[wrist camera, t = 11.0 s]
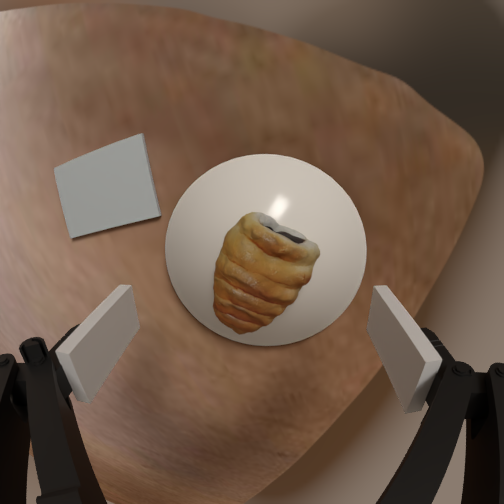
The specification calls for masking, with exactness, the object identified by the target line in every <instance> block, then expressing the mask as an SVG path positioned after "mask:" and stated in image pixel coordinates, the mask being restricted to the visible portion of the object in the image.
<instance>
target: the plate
mask: <svg viewBox="0 0 504 504" xmlns="http://www.w3.org/2000/svg"><path fill="white" fill-rule="evenodd" d="M251 212H261V213H264V214H266V215H268V216H271V217H272V218H273V219H275V220H276V222H277V223H278V224H279V225H282V226H286V227H288V228H290V229H294V230H296V231H298V232H300V233H302V234H303V235H304V236H305V237H306V238H307V239H308V240H309V241H312V242H314V243H316V244H317V245H318V248H319V249H320V257H319V258H318V259H317V260H316V262H315V264H314V267H313V271H312V277H311V279H310V281H309V282H308V283H307V284H306V285H304V286H302V288H301V290H300V291H299V293H298V296H297V299H296V300H295V302H294V303H293V304H291V305H288V306H287V307H286V309H285V310H284V312H283V313H282V314H281V315H279V316H277V317H275V318H274V319H273V321H272V323H270V324H269V325H267V326H263V327H261V328H260V329H258V330H257V331H255V332H252V333H251V332H249V333H245V334H240V335H239V334H237V333H236V332H234V331H233V330H232V329H231V328H229V327H227V326H226V325H224V324H223V323H221V322H220V321H219V319H218V318H217V317H216V315H215V312H214V309H213V302H214V290H213V286H214V272H215V263H216V260H217V258H218V256H219V254H220V250H221V248H222V246H223V242H224V238H225V235H226V234H227V232H228V231H229V230H230V229H231V228H232V227H233V226H235V225H236V223H237V222H238V221H239V220H240V218H241V217H242V216H244V215H246V214H248V213H251ZM366 249H367V247H366V238H365V232H364V228H363V224H362V221H361V219H360V216H359V214H358V211H357V209H356V207H355V206H354V204H353V202H352V201H351V199H350V197H349V196H348V195H347V194H346V192H345V191H344V190H343V189H342V187H341V186H340V185H339V184H338V183H336V182H335V181H334V180H333V179H332V178H331V177H330V176H328V175H327V174H326V173H324V172H323V171H321V170H320V169H318V168H316V167H314V166H312V165H310V164H308V163H306V162H304V161H301V160H298V159H295V158H292V157H287V156H282V155H273V154H257V155H248V156H243V157H239V158H235V159H232V160H229V161H226V162H224V163H221V164H219V165H218V166H216V167H214V168H212V169H210V170H209V171H207V172H206V173H205V174H203V175H202V176H201V177H199V178H198V179H197V180H196V181H195V182H194V183H193V184H192V185H191V186H190V187H189V188H188V189H187V190H186V192H185V193H184V194H183V196H182V197H181V198H180V200H179V202H178V203H177V205H176V207H175V209H174V211H173V213H172V216H171V219H170V221H169V225H168V229H167V234H166V243H165V256H166V264H167V269H168V273H169V277H170V280H171V283H172V285H173V287H174V289H175V291H176V293H177V295H178V297H179V298H180V300H181V301H182V303H183V304H184V306H185V307H186V308H187V309H188V311H189V312H190V313H191V314H192V315H193V316H194V317H195V318H196V319H197V320H198V321H199V322H201V323H202V324H203V325H205V326H206V327H207V328H209V329H210V330H212V331H214V332H215V333H217V334H219V335H221V336H223V337H226V338H228V339H230V340H234V341H237V342H240V343H244V344H250V345H258V346H277V345H284V344H290V343H293V342H297V341H301V340H303V339H306V338H308V337H310V336H313V335H314V334H316V333H318V332H320V331H322V330H323V329H325V328H326V327H327V326H329V325H330V324H331V323H333V322H334V321H335V320H336V319H337V318H338V317H339V316H340V315H341V314H342V313H343V312H344V311H345V309H346V308H347V307H348V306H349V304H350V303H351V301H352V300H353V298H354V296H355V295H356V292H357V290H358V288H359V286H360V284H361V281H362V277H363V274H364V270H365V264H366Z"/></svg>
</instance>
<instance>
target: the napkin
mask: <svg viewBox="0 0 504 504" xmlns="http://www.w3.org/2000/svg"><path fill="white" fill-rule="evenodd" d="M54 173H55V178H56V182H57V187H58V192H59V196H60V200H61V204H62V209H63V213H64V216H65V220H66V224H67V228H68V231H69V235H70V238H74V237H78V236H82V235H86V234H89V233H93V232H97V231H101V230H105V229H109V228H113V227H117V226H121V225H125V224H129V223H133V222H137V221H141V220H145V219H150V218H154V217H158V216H161V211H160V207H159V203H158V199H157V195H156V191H155V186H154V182H153V177H152V173H151V168H150V164H149V159H148V154H147V149H146V144H145V139H144V134H143V133H141V134H138V135H135V136H132V137H129V138H126V139H124V140H121V141H118V142H115V143H113V144H110V145H107V146H105V147H102V148H100V149H97V150H95V151H92V152H90V153H87V154H85V155H83V156H80V157H78V158H76V159H73V160H71V161H69V162H67V163H64V164H62V165H60V166H58V167H56V168H54Z"/></svg>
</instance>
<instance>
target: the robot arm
mask: <svg viewBox="0 0 504 504" xmlns="http://www.w3.org/2000/svg"><path fill="white" fill-rule="evenodd" d="M139 328H140V325H139V320H138V316H137V311H136V306H135V301H134V296H133V290H132V285H119V286H118V287H117V288H116V289H115V290H114V291H113V292H112V293H111V294H110V295H109V296H108V297H107V298H106V299H105V300H104V301H103V302H102V303H101V304H100V305H99V306H98V307H97V308H96V309H95V310H94V311H93V312H92V313H91V314H90V315H89V316H88V317H87V318H86V319H85V320H84V321H83V322H82V323H81V324H78V325H76V326H75V327H73V328H71V329H70V330H69V331H68V332H67V333H66V334H65V336H63V337H62V338H61V340H59V341H58V342H57V343H56V345H55V346H54V347H53V348H52V349H51V350H50V351H49V352H48V349H47V347H46V344H45V341H44V339H42V338H40V337H33V338H30V339H27V340H25V341H24V342H22V344H21V345H20V347H19V350H20V353H21V355H22V357H23V359H24V362H25V363H17V362H16V360H15V357H14V356H13V355H12V354H2V355H0V504H26V489H27V487H26V486H27V469H28V457H29V448H30V440H31V442H32V449H33V455H34V460H35V466H36V471H37V475H38V480H39V484H40V488H41V493H42V494H41V496H37V498H36V503H37V504H107V502H106V500H105V497H104V495H103V493H102V491H101V488H100V486H99V484H98V481H97V479H96V476H95V474H94V471H93V469H92V466H91V463H90V461H89V458H88V455H87V452H86V449H85V447H84V444H83V440H82V437H81V434H80V431H79V428H78V424H77V421H76V417H75V414H74V410H73V406H72V402H71V400H70V398H69V395H70V393H71V392H72V391H73V393H74V395H75V397H76V399H77V400H78V401H82V402H86V403H90V404H91V402H92V400H93V399H94V397H95V396H96V394H97V392H98V391H99V389H100V388H101V386H102V384H103V383H104V381H105V380H106V378H107V377H108V375H109V374H110V372H111V370H112V369H113V367H114V366H115V364H116V363H117V361H118V360H119V358H120V357H121V355H122V354H123V352H124V351H125V349H126V348H127V346H128V345H129V343H130V342H131V340H132V339H133V337H134V336H135V334H136V333H137V331H138V330H139ZM366 330H367V332H368V334H369V336H370V338H371V340H372V342H373V344H374V346H375V348H376V350H377V353H378V355H379V357H380V359H381V361H382V363H383V365H384V367H385V370H386V371H387V374H388V376H389V378H390V380H391V382H392V385H393V387H394V389H395V391H396V394H397V396H398V398H399V400H400V403H401V405H402V407H403V410H404V412H405V414H406V413H411V412H416V411H420V410H421V409H422V407H423V405H424V403H425V401H426V402H427V404H428V406H429V408H428V410H427V412H426V415H425V416H424V418H423V420H422V422H421V425H420V428H419V430H418V432H417V434H416V436H415V438H414V440H413V442H412V444H411V446H410V447H409V449H408V451H407V453H406V455H405V457H404V459H403V460H402V462H401V464H400V466H399V468H398V469H397V471H396V472H395V474H394V476H393V478H392V479H391V481H390V482H389V484H388V486H387V487H386V489H385V490H384V492H383V493H382V495H381V496H380V498H379V499H378V501H377V502H376V504H432V502H433V500H434V497H435V495H436V493H437V491H438V489H439V487H440V484H441V482H442V480H443V477H444V475H445V473H446V470H447V467H448V465H449V462H450V460H451V457H452V455H453V452H454V449H455V446H456V443H457V440H458V437H459V434H460V431H461V427H462V424H463V421H464V419H466V458H465V472H464V484H463V493H462V500H461V504H504V363H494V364H492V365H491V366H490V368H489V370H488V372H487V373H481V372H474V370H473V368H472V367H471V366H469V365H468V364H466V363H464V362H460V361H455V360H454V358H453V357H452V356H451V354H450V353H449V352H448V350H447V349H446V348H445V346H443V344H442V342H441V341H439V339H438V337H437V336H436V335H435V333H434V332H432V331H431V330H429V329H427V328H419V327H418V325H417V324H416V323H415V321H414V320H413V319H412V317H411V316H410V315H409V313H408V312H407V311H406V309H405V308H404V307H403V306H402V304H401V303H400V302H399V300H398V299H397V298H396V297H395V295H394V294H393V293H392V292H391V290H390V289H389V288H388V287H387V286H386V285H385V286H374V287H373V294H372V300H371V306H370V312H369V318H368V324H367V329H366Z"/></svg>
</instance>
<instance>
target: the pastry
mask: <svg viewBox="0 0 504 504" xmlns="http://www.w3.org/2000/svg"><path fill="white" fill-rule="evenodd" d="M319 257H320V249H319V248H318V245H317V244H316V243H314V242H312V241H309V240H308V239H307V238H306V237H305V236H304V235H303V234H302V233H300V232H298V231H296V230H294V229H290V228H288V227H286V226H282V225H279V224H278V223H277V222H276V220H275V219H273V218H272V217H271V216H268V215H266V214H264V213H261V212H251V213H248V214H246V215H244V216H242V217H241V218H240V220H239V221H238V222H237V223H236V225H235V226H233V227H232V228H231V229H230V230H229V231H228V232H227V234H226V235H225V238H224V242H223V246H222V248H221V250H220V254H219V256H218V258H217V260H216V263H215V272H214V286H213V290H214V302H213V309H214V312H215V315H216V317H217V318H218V319H219V321H220V322H221V323H223V324H224V325H226V326H227V327H229V328H231V329H232V330H233V331H234V332H236V333H237V334H239V335H240V334H245V333H249V332H251V333H252V332H255V331H257V330H258V329H260V328H261V327H263V326H267V325H269V324H270V323H272V321H273V319H274V318H275V317H277V316H279V315H281V314H282V313H283V312H284V310H285V309H286V307H287V306H288V305H291V304H293V303H294V302H295V300H296V299H297V296H298V293H299V291H300V290H301V288H302V286H304V285H306V284H307V283H308V282H309V281H310V279H311V277H312V271H313V267H314V264H315V262H316V260H317V259H318V258H319Z"/></svg>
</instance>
